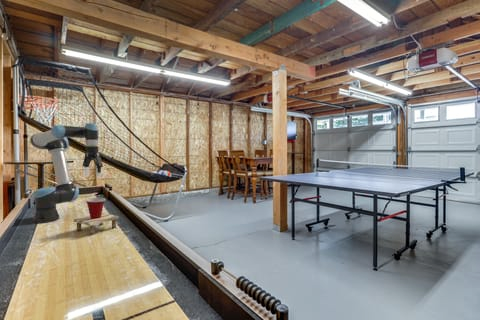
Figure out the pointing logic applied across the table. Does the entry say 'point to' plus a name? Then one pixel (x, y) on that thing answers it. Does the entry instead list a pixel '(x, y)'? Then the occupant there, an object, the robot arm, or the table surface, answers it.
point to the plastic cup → (95, 207)
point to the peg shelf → (95, 221)
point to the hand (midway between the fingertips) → (92, 176)
